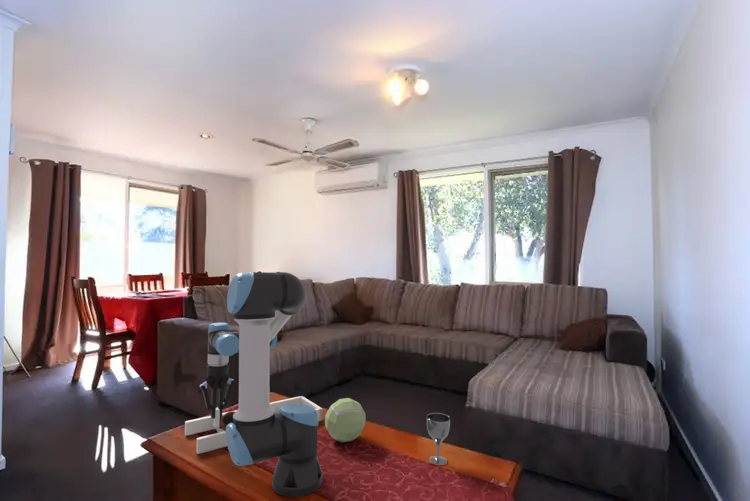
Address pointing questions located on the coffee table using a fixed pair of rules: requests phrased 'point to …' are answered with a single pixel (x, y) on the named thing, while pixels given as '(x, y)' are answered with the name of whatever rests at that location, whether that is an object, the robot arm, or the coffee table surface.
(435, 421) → the wine glass
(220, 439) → the trap lane
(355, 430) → the tennis ball
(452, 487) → the coffee table surface
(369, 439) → the coffee table surface
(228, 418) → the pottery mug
